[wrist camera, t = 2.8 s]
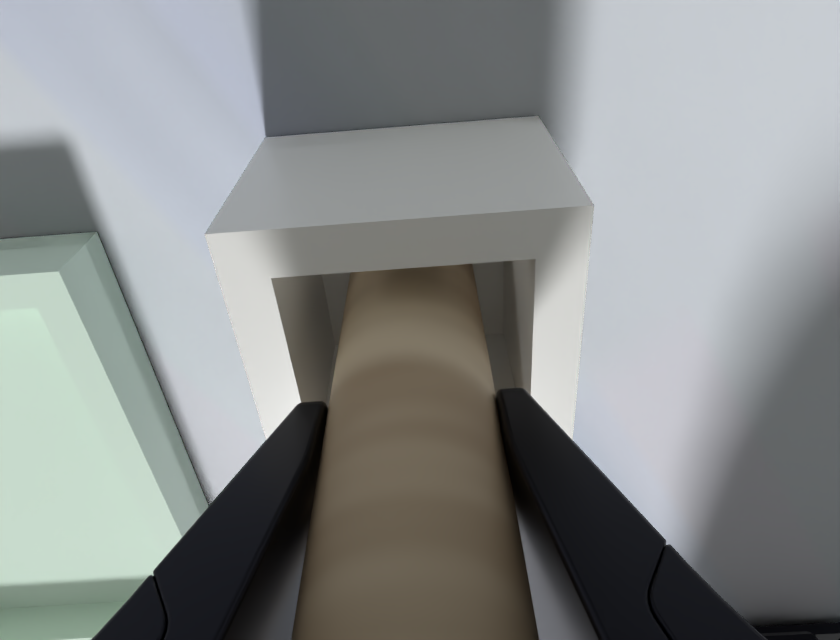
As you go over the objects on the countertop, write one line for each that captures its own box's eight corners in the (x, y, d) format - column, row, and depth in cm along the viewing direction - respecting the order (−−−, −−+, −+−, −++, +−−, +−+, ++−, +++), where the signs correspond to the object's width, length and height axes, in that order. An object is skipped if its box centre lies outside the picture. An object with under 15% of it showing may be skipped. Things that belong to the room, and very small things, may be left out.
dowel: (473, 312, 14) (565, 896, 6) (360, 319, 14) (290, 908, 6) (469, 206, 13) (586, 784, 4) (344, 216, 13) (220, 802, 4)
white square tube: (530, 338, 16) (569, 475, 12) (312, 353, 16) (282, 493, 12) (538, 115, 12) (593, 205, 9) (265, 137, 13) (204, 234, 9)
